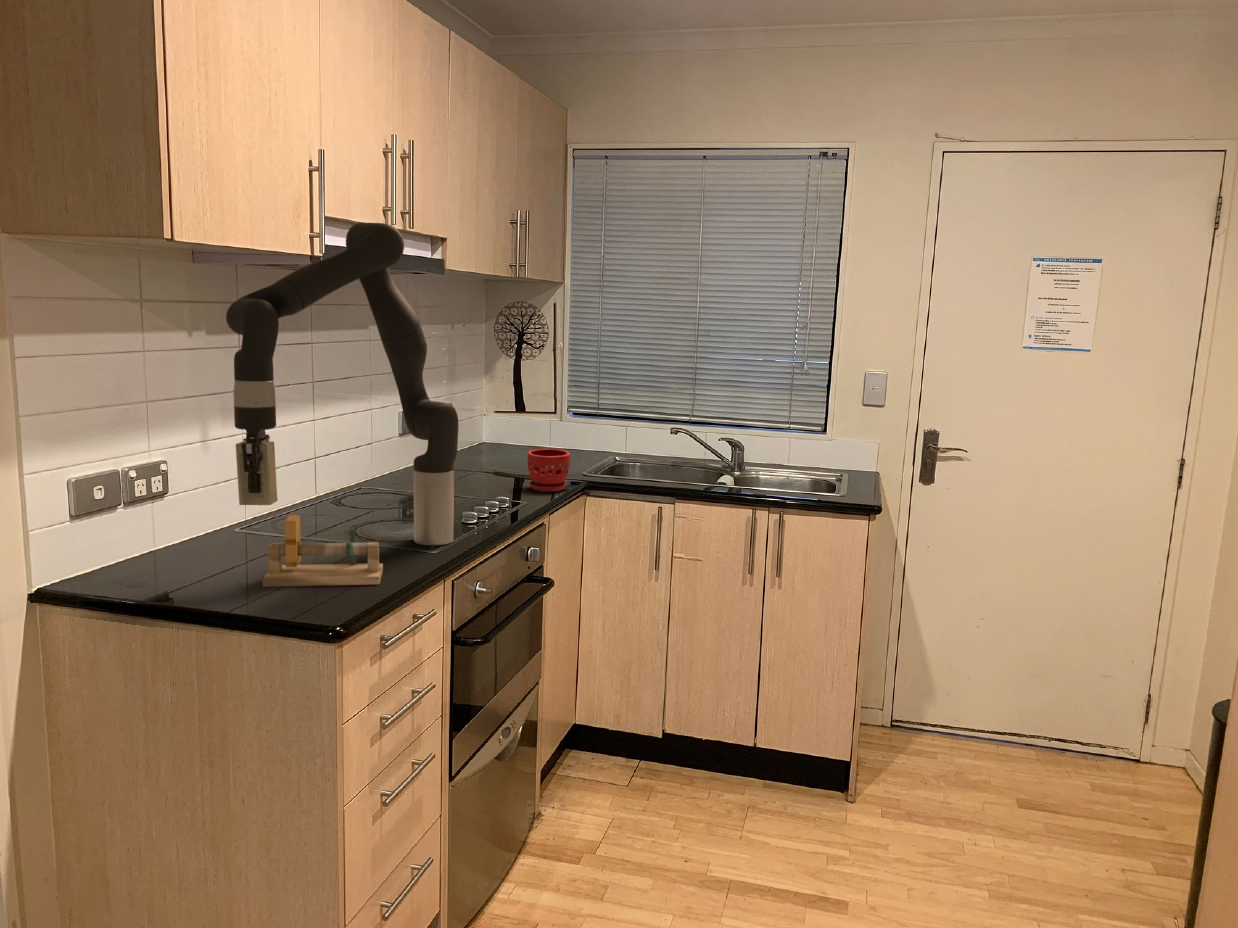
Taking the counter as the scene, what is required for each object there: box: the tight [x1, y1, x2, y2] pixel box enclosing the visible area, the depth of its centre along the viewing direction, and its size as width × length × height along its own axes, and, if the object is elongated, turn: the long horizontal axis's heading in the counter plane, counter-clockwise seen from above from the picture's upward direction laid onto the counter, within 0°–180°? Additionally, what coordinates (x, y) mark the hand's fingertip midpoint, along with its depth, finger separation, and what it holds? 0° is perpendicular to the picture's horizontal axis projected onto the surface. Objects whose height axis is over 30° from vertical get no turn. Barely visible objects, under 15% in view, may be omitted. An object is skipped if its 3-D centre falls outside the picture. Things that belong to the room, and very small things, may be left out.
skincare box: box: [235, 440, 278, 506], centre depth 178 cm, size 6×4×12 cm
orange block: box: [284, 514, 302, 567], centre depth 181 cm, size 6×2×9 cm, turn 10°
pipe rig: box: [262, 528, 384, 588], centre depth 183 cm, size 10×22×9 cm, turn 100°
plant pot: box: [527, 448, 571, 493], centre depth 282 cm, size 13×13×12 cm
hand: (257, 489), depth 178 cm, fingers closed on skincare box, 4 cm apart
